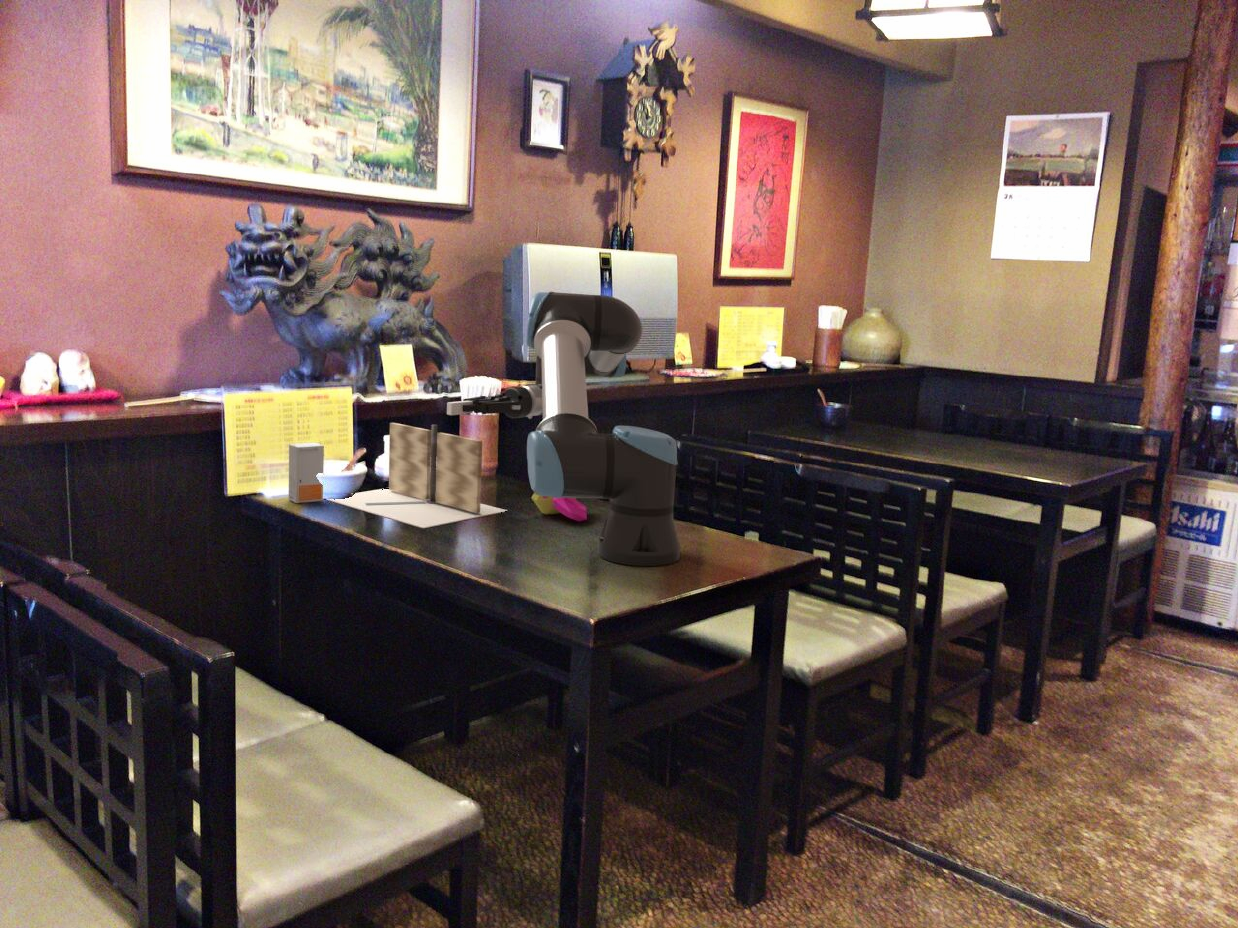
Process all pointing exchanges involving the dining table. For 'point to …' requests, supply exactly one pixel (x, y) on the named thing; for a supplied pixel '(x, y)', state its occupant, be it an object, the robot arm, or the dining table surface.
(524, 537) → the dining table surface
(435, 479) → the panel
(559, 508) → the toy
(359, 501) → the card
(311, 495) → the skincare box
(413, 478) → the fence gate
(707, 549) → the dining table surface
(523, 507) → the dining table surface
